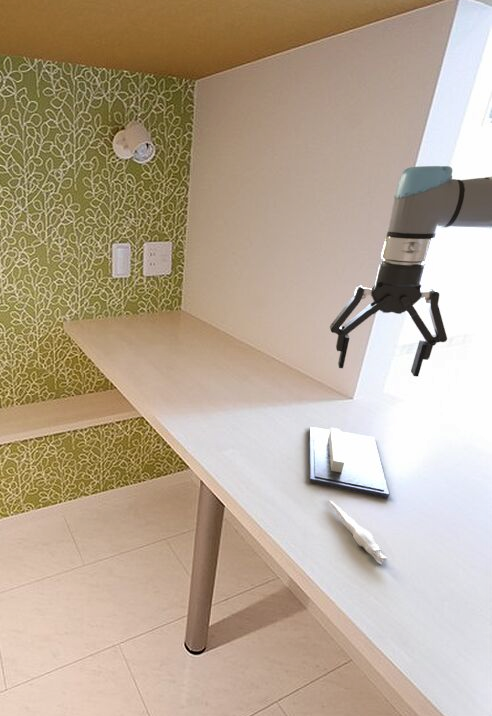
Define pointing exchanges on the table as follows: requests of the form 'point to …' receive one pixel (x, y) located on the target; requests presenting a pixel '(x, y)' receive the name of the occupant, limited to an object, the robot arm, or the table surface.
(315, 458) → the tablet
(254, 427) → the table surface
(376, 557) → the white tapered piece
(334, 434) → the white rectangular bar
